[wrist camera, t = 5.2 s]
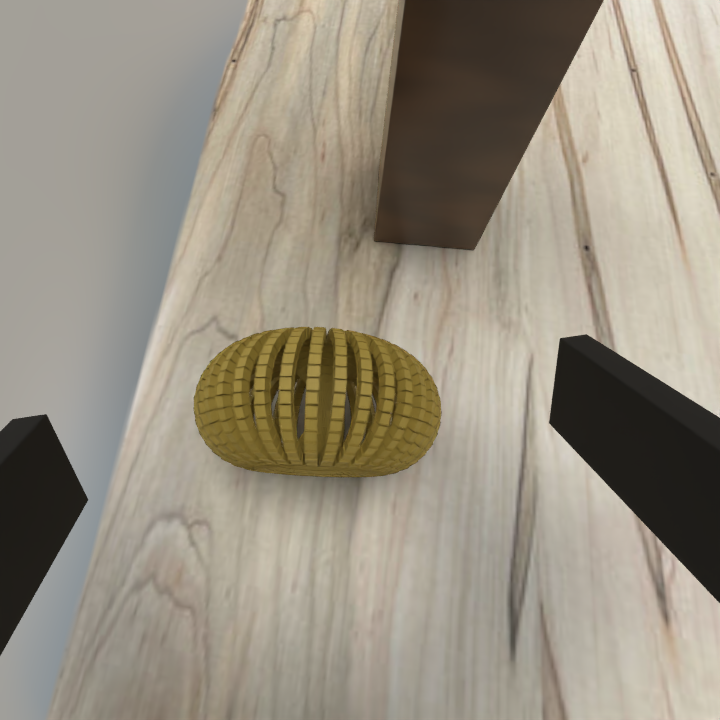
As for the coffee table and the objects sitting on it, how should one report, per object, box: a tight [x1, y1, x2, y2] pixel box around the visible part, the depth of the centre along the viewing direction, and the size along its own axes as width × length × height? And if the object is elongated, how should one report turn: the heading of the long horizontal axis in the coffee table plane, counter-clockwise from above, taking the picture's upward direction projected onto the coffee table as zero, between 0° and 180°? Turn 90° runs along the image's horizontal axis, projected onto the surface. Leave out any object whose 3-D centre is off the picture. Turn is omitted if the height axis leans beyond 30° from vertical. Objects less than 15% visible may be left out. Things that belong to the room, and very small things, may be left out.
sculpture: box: [194, 327, 442, 477], centre depth 15 cm, size 8×4×8 cm, turn 88°
